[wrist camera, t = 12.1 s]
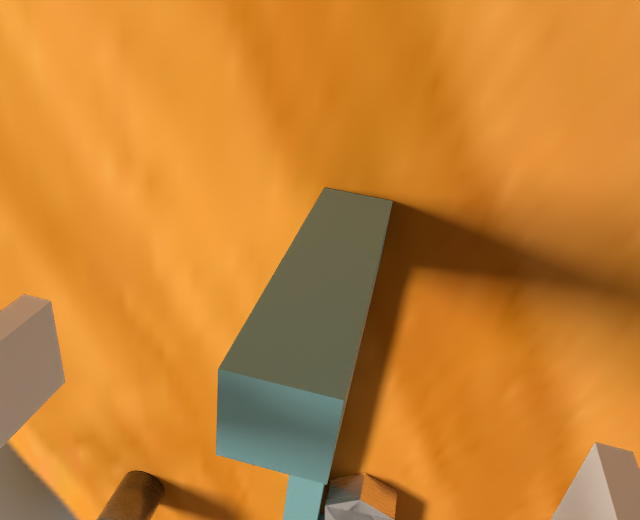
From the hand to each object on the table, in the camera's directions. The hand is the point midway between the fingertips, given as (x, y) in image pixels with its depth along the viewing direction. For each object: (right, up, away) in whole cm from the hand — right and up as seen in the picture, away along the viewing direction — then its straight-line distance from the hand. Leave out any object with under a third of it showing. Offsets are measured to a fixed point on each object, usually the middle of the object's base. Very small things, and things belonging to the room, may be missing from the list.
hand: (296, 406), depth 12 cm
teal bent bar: (+4, -5, +15) cm, 16 cm away
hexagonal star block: (+3, -11, +19) cm, 22 cm away
